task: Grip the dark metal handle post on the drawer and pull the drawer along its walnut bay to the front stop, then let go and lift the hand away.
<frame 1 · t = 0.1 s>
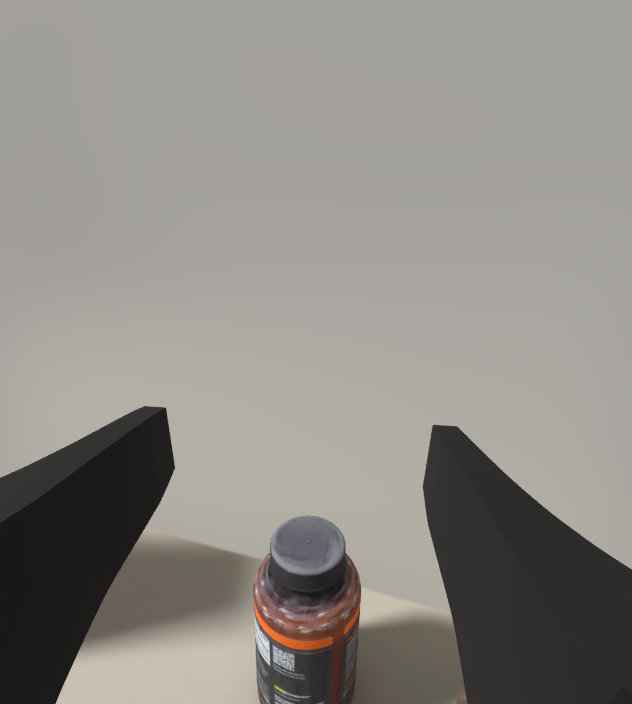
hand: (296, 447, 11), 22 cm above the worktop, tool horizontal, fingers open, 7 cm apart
supplement bottle: (305, 687, 25), on the worktop
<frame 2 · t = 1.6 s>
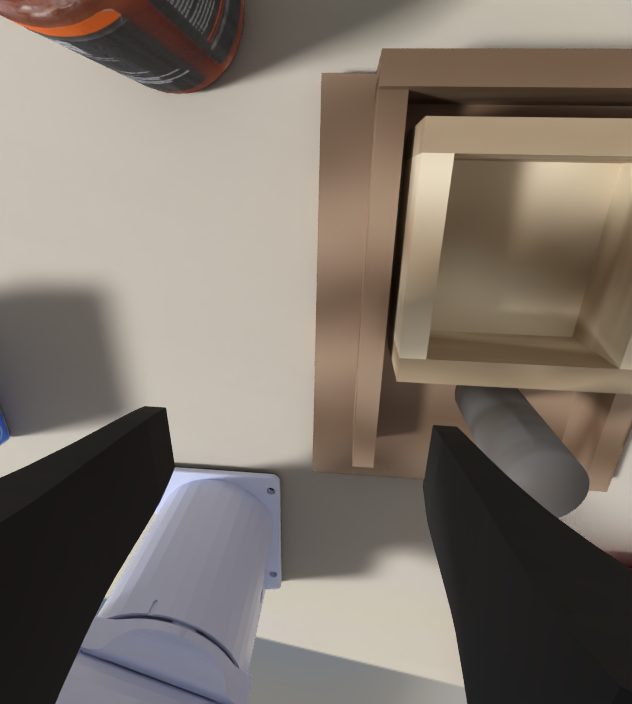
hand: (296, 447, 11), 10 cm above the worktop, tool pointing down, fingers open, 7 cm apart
bay: (481, 311, 20), on the worktop
drawer: (530, 311, 14), point 5 cm above the worktop, slide at 7.0 cm
supplement bottle: (176, 12, 16), on the worktop
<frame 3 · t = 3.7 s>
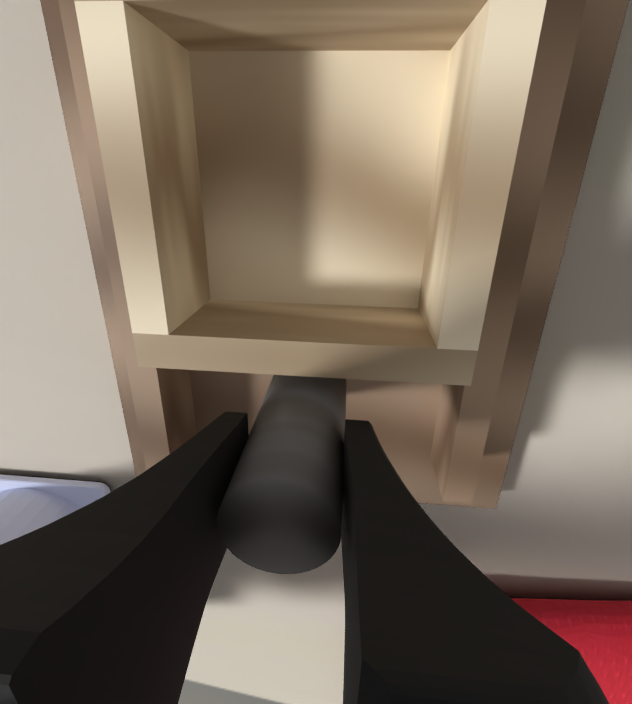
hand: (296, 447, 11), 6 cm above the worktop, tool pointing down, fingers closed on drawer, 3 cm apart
bay: (317, 277, 15), on the worktop
drawer: (301, 264, 10), point 5 cm above the worktop, slide at 7.0 cm, touching gripper
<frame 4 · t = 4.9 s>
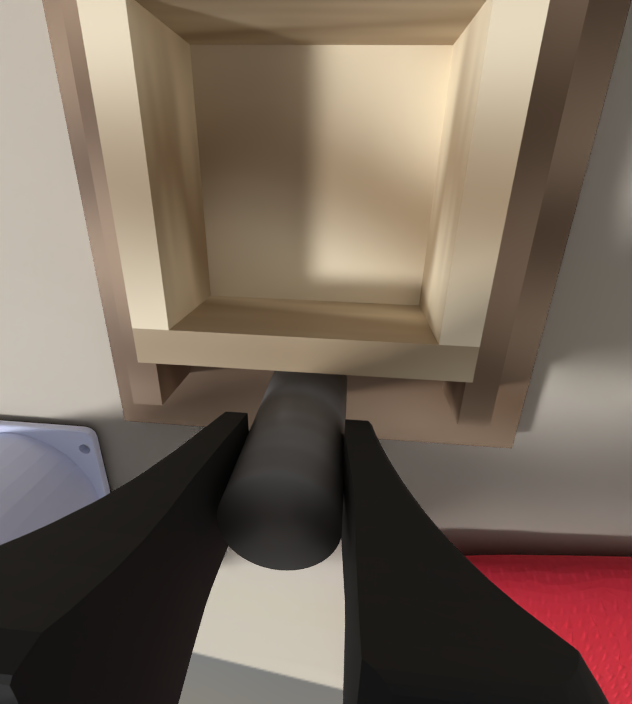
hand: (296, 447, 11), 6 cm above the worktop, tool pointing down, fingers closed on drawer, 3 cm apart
bay: (320, 183, 14), on the worktop
drawer: (302, 259, 10), point 5 cm above the worktop, slide at 3.9 cm, touching gripper
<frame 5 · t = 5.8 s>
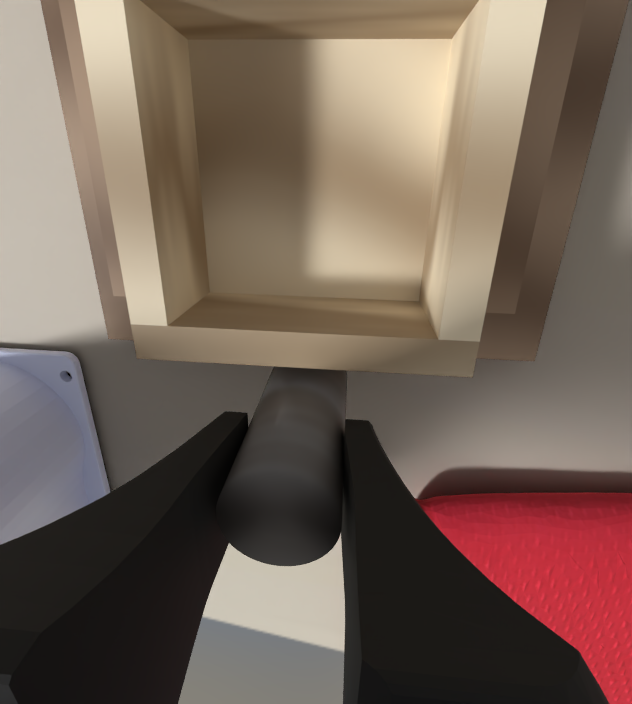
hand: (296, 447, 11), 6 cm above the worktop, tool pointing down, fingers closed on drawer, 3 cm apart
bay: (321, 48, 12), on the worktop
drawer: (301, 253, 10), point 5 cm above the worktop, slide at 0.3 cm, touching gripper
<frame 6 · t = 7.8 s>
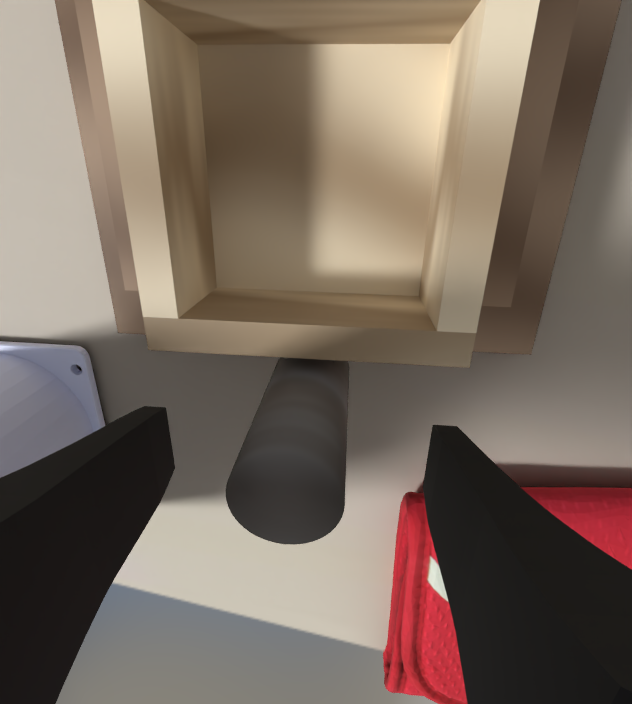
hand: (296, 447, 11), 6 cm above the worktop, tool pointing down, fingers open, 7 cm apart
bay: (325, 52, 13), on the worktop
drawer: (306, 249, 10), point 5 cm above the worktop, slide at 0.3 cm
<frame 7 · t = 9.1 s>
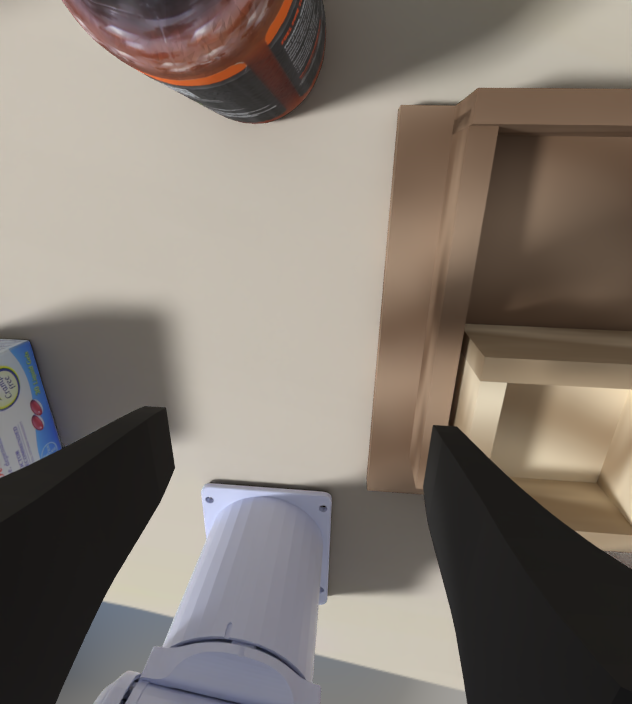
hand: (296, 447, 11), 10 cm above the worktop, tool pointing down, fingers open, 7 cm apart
bay: (543, 334, 20), on the worktop
drawer: (565, 490, 17), point 5 cm above the worktop, slide at 0.3 cm
medicine box: (18, 396, 24), on the worktop
supplement bottle: (254, 44, 16), on the worktop
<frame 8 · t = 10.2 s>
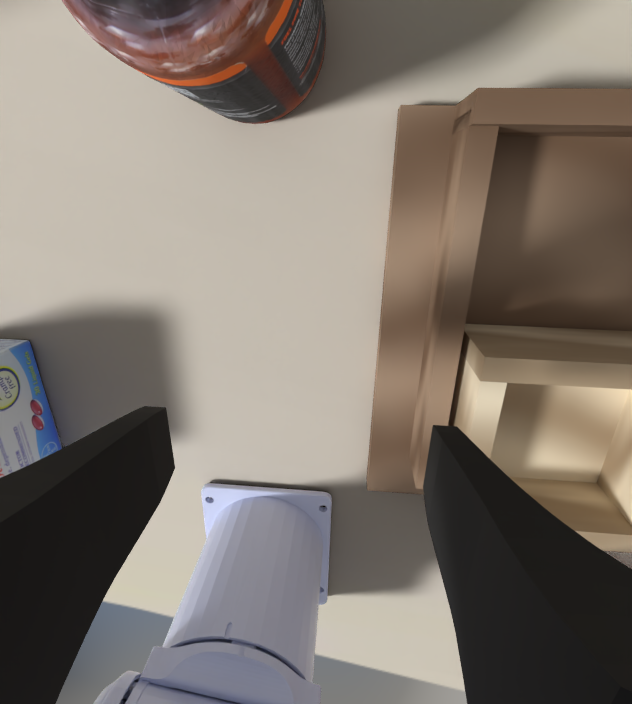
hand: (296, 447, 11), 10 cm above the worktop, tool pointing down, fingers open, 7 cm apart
bay: (543, 334, 20), on the worktop
drawer: (565, 490, 17), point 5 cm above the worktop, slide at 0.3 cm
medicine box: (18, 396, 24), on the worktop
supplement bottle: (254, 44, 16), on the worktop
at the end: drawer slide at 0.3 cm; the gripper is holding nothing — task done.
